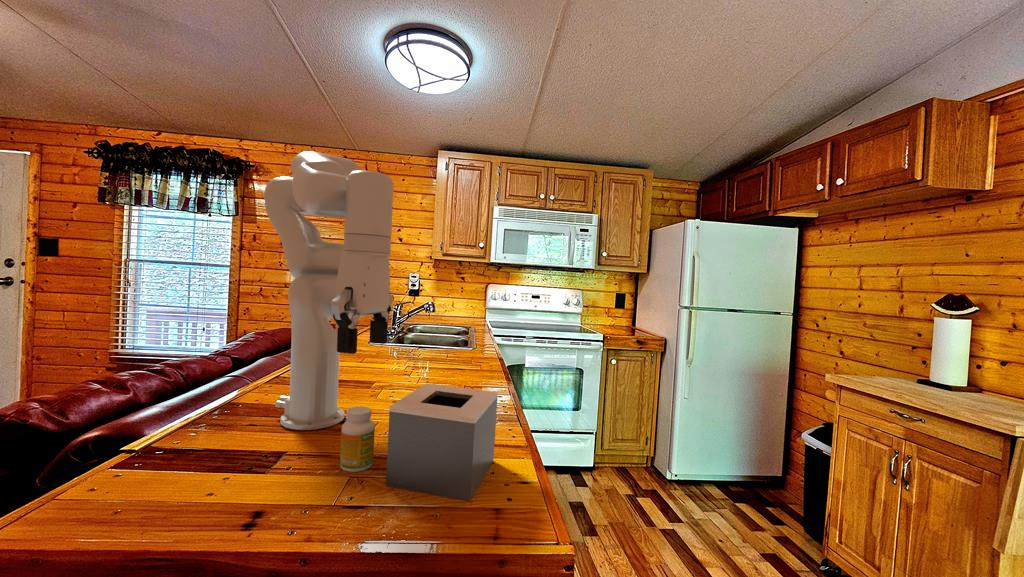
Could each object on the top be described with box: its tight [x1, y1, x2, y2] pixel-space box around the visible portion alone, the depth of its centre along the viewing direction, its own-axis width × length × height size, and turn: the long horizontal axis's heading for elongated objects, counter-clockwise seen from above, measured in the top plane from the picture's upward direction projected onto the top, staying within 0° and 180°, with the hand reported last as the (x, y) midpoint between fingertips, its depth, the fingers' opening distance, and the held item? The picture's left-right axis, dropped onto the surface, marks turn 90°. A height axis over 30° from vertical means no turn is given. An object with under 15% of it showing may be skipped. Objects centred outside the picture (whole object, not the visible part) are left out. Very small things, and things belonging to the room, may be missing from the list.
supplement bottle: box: [339, 406, 376, 473], centre depth 72 cm, size 5×5×10 cm
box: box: [385, 383, 499, 502], centre depth 72 cm, size 14×14×13 cm
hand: (363, 347), depth 72 cm, fingers open, 9 cm apart
